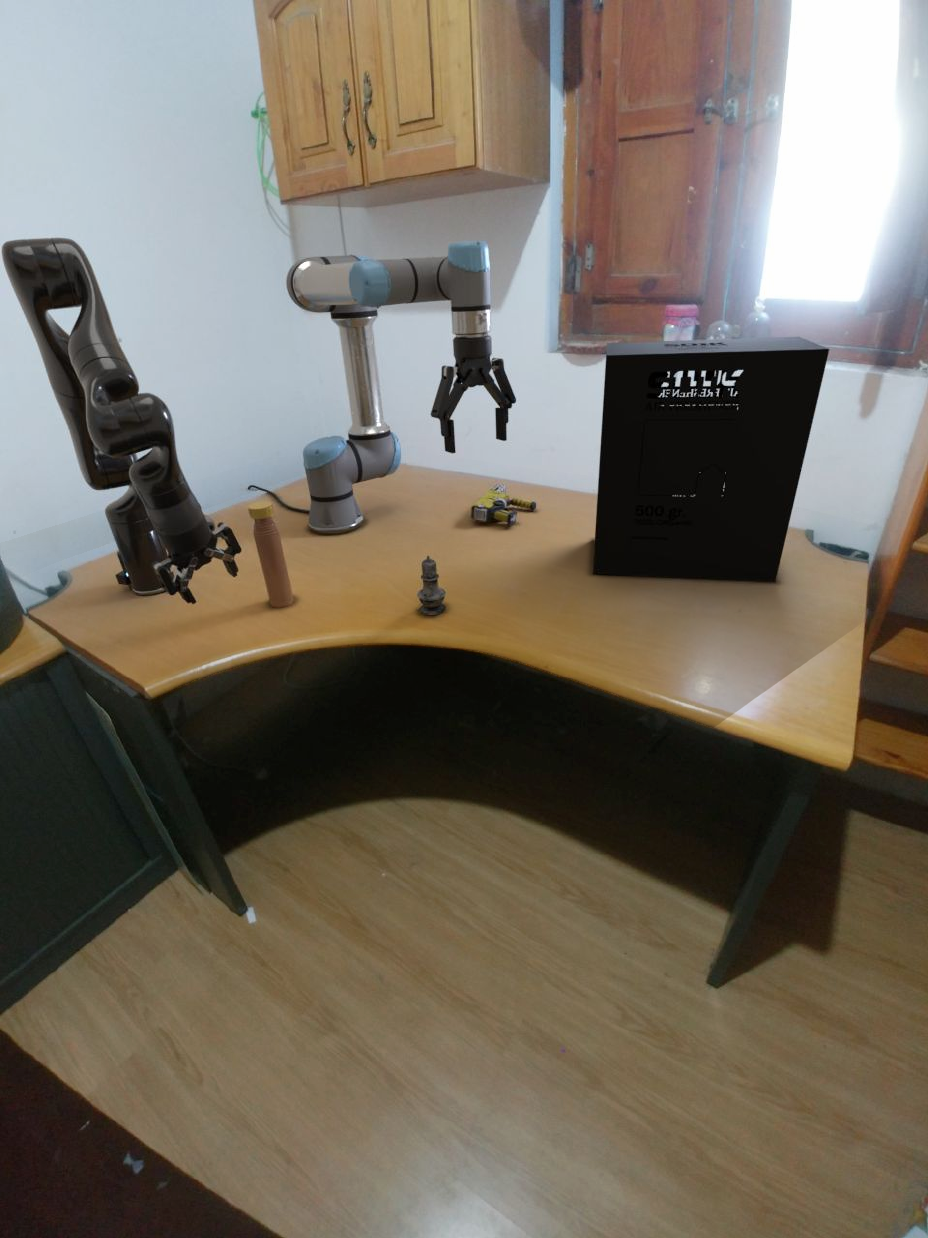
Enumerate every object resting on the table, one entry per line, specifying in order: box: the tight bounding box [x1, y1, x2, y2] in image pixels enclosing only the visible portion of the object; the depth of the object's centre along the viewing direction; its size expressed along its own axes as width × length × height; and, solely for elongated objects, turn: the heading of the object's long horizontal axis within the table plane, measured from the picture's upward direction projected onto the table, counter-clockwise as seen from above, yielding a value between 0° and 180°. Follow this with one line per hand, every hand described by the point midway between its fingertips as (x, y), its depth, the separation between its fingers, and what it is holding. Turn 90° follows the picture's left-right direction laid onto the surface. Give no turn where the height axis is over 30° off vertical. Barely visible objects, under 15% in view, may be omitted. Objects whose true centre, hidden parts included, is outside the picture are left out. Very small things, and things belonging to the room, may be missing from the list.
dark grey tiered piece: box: [416, 555, 447, 616], centre depth 121 cm, size 6×6×12 cm
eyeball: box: [204, 514, 216, 532], centre depth 166 cm, size 6×6×6 cm
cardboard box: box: [592, 336, 830, 583], centre depth 128 cm, size 38×20×45 cm, turn 78°
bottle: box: [252, 516, 295, 608], centre depth 125 cm, size 5×5×22 cm
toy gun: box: [470, 483, 537, 527], centre depth 170 cm, size 5×24×15 cm
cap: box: [247, 500, 275, 520], centre depth 120 cm, size 5×5×2 cm
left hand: (212, 587), depth 108 cm, fingers open, 8 cm apart
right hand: (476, 445), depth 127 cm, fingers open, 13 cm apart
